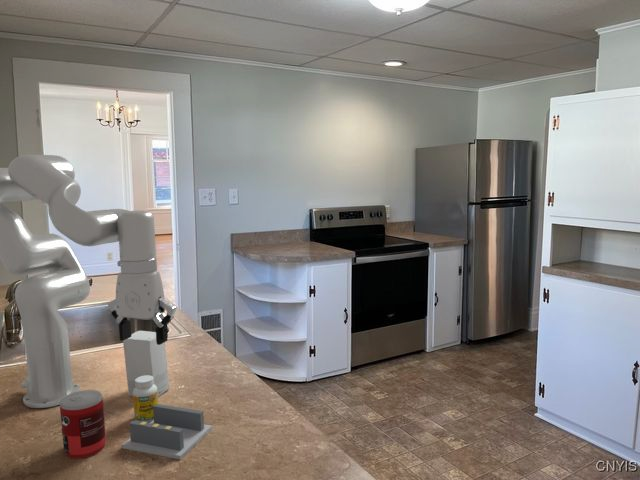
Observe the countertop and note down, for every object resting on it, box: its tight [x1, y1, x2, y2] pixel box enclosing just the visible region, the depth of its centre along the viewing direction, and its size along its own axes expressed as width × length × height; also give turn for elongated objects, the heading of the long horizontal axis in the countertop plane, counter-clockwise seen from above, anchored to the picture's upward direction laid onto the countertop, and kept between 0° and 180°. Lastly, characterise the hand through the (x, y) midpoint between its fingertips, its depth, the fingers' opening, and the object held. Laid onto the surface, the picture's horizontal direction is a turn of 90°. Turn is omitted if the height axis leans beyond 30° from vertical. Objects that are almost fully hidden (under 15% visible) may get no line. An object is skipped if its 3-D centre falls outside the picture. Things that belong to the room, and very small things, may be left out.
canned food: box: [59, 389, 107, 459], centre depth 99 cm, size 8×8×11 cm
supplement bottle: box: [132, 375, 159, 423], centre depth 112 cm, size 5×5×10 cm
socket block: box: [121, 403, 213, 461], centre depth 103 cm, size 14×12×5 cm
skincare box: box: [122, 330, 170, 398], centre depth 124 cm, size 8×7×16 cm
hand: (143, 340), depth 110 cm, fingers open, 9 cm apart
